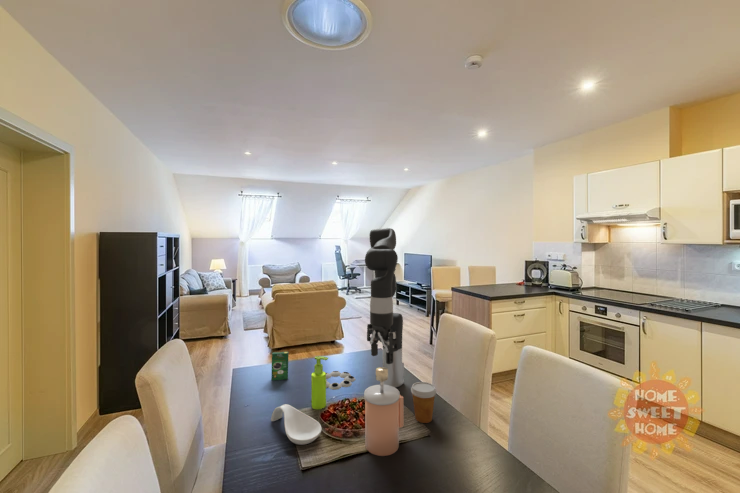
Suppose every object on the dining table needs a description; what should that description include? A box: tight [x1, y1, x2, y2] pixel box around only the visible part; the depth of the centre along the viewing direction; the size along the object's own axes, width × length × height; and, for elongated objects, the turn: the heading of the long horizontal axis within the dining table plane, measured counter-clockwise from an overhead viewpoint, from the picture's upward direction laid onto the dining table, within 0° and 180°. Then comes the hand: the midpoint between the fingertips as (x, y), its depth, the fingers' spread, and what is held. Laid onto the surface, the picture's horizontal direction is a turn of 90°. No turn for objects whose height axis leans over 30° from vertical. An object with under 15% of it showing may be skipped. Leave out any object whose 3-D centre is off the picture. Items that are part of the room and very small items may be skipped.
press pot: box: [363, 384, 405, 457], centre depth 103 cm, size 14×12×17 cm
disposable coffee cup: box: [410, 381, 437, 424], centre depth 118 cm, size 10×10×12 cm
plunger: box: [375, 366, 388, 393], centre depth 103 cm, size 4×4×7 cm
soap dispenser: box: [310, 355, 329, 410], centre depth 128 cm, size 6×7×20 cm
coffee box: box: [271, 351, 290, 382], centre depth 153 cm, size 8×3×13 cm, turn 103°
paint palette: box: [325, 370, 356, 390], centre depth 151 cm, size 20×20×2 cm
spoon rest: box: [270, 403, 322, 446], centre depth 110 cm, size 24×12×7 cm, turn 48°
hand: (381, 359), depth 103 cm, fingers open, 8 cm apart
